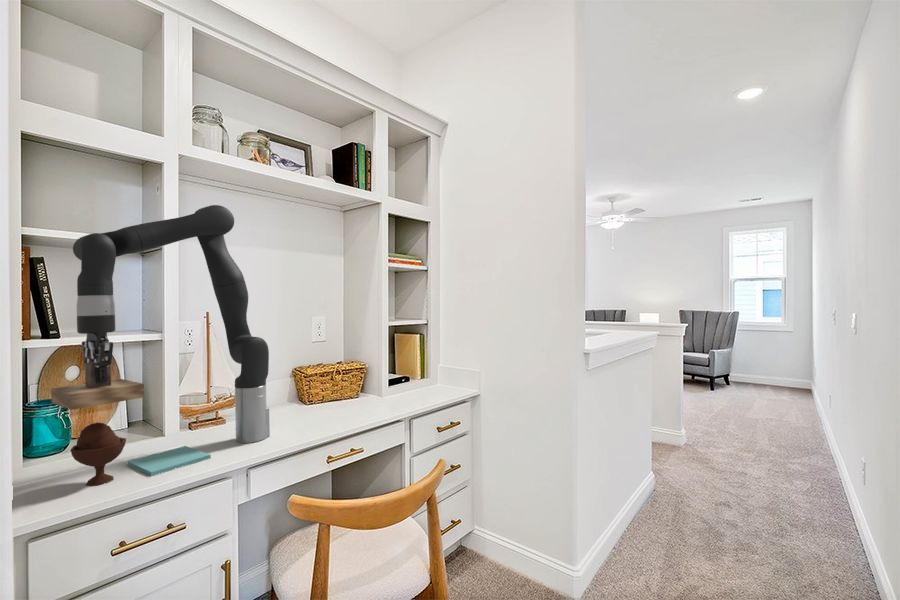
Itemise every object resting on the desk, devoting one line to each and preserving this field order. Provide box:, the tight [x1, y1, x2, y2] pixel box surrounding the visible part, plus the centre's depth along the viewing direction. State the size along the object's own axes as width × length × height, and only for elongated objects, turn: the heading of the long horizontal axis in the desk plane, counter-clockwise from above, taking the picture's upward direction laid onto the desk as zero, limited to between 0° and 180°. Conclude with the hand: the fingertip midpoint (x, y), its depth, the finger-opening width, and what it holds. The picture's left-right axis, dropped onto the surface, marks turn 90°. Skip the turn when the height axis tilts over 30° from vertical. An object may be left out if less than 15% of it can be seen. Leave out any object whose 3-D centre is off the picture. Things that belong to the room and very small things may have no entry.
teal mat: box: [127, 445, 211, 477], centre depth 124 cm, size 15×15×1 cm
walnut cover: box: [50, 362, 145, 411], centre depth 111 cm, size 15×15×10 cm
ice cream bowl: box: [70, 422, 127, 487], centre depth 111 cm, size 11×11×15 cm
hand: (98, 381), depth 111 cm, fingers closed on walnut cover, 4 cm apart
